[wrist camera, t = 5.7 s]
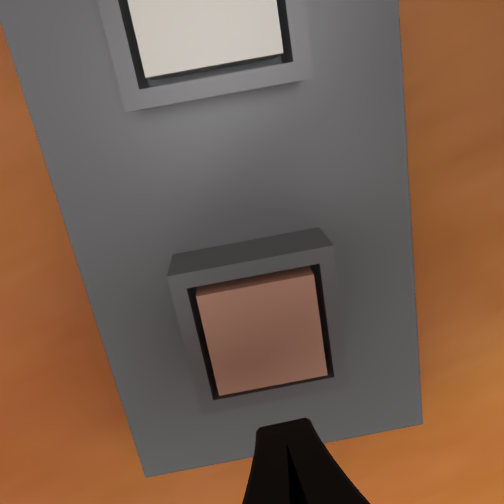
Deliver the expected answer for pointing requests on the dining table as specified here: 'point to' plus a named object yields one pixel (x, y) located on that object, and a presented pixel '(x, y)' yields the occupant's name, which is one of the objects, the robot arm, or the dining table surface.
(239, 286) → the terracotta key
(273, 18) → the white key
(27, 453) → the dining table surface
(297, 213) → the grey key base
